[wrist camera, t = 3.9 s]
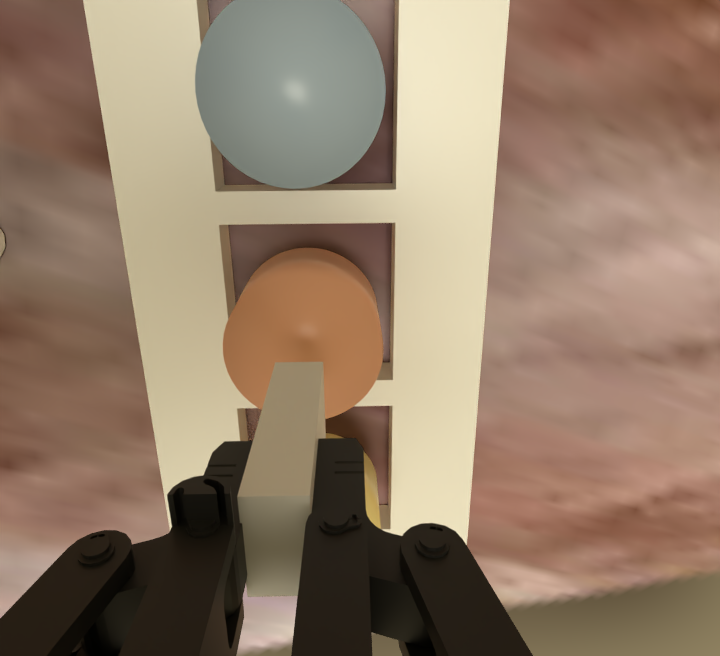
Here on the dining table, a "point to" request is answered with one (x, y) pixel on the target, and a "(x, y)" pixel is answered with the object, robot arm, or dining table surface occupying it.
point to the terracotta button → (306, 326)
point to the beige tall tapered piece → (2, 242)
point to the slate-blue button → (290, 89)
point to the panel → (311, 206)
